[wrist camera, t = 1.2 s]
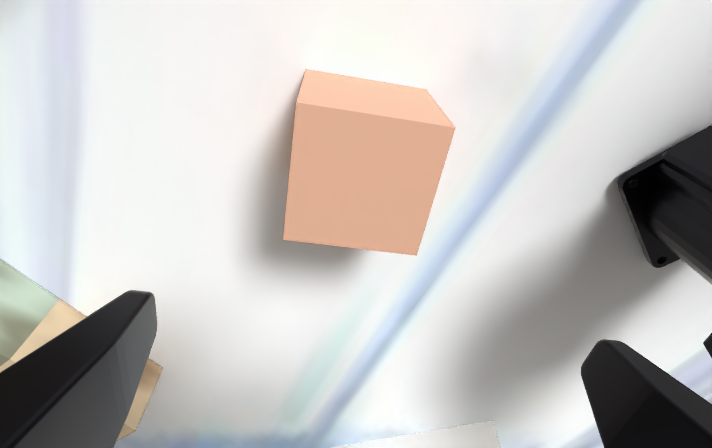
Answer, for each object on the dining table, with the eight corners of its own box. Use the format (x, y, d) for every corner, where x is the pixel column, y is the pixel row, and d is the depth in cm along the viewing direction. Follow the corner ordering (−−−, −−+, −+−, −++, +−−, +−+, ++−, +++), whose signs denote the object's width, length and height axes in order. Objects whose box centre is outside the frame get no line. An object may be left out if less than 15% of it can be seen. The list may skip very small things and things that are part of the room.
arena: (432, 206, 20) (452, 254, 17) (140, 381, 26) (111, 444, 22) (31, -367, 11) (-111, -526, 7) (-290, 109, 16) (-455, 146, 13)
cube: (425, 88, 17) (455, 127, 13) (399, 194, 20) (416, 255, 16) (306, 68, 17) (295, 102, 12) (294, 180, 19) (282, 240, 15)
